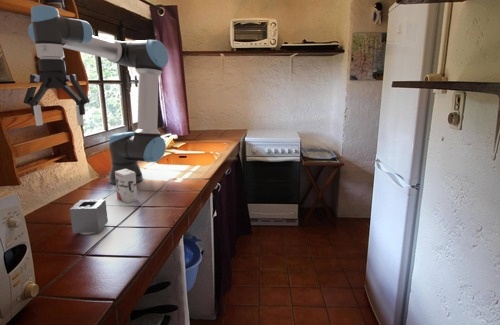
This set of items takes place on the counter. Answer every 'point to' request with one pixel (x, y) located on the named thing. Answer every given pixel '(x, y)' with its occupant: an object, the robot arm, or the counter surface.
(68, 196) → the counter surface
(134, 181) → the ink box
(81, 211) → the block
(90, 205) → the hub
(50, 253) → the counter surface
